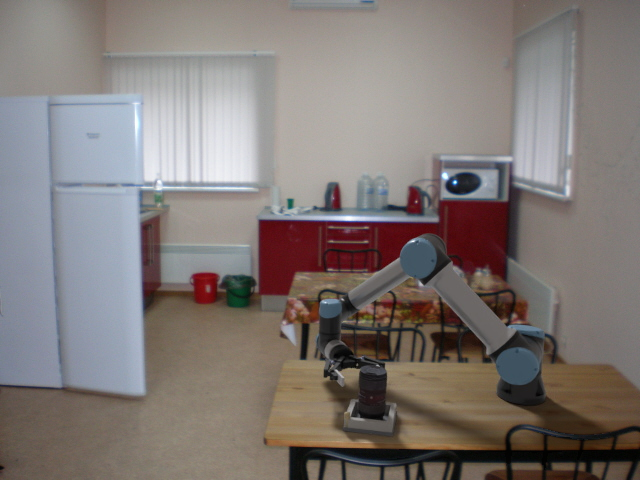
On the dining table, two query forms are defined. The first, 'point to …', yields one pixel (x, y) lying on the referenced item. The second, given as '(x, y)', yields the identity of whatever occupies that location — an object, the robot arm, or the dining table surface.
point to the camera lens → (372, 392)
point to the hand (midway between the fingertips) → (364, 379)
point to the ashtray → (370, 420)
